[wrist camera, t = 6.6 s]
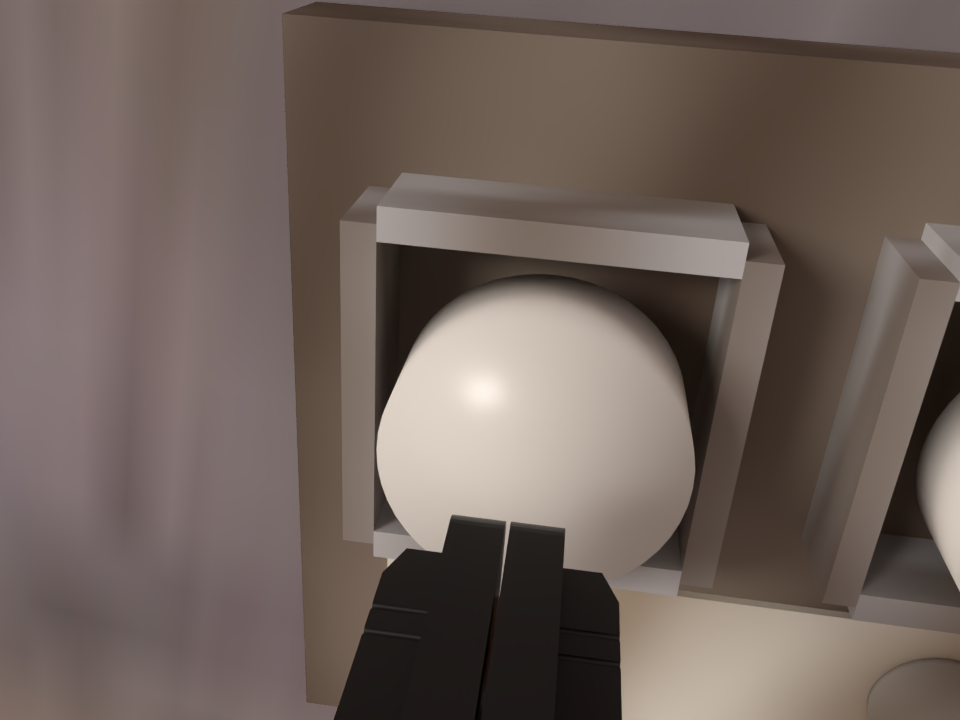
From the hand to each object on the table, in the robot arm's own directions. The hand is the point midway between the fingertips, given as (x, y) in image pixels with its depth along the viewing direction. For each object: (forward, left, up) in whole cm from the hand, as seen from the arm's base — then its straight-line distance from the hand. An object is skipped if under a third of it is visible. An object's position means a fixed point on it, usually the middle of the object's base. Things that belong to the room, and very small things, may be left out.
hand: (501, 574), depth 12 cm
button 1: (0, 0, -5) cm, 5 cm away
